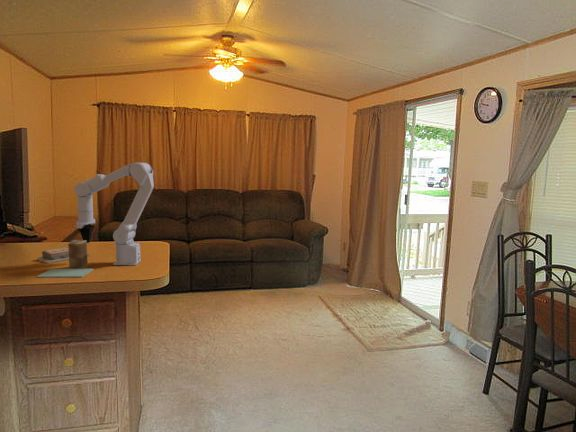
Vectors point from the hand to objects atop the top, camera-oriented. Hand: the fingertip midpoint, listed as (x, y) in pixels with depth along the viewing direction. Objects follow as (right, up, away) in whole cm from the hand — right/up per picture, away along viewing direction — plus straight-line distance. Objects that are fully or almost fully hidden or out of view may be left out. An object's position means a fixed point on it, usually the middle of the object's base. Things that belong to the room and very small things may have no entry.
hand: (86, 242), depth 173 cm
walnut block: (+1, -10, -8) cm, 13 cm away
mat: (0, -11, -16) cm, 20 cm away
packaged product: (-15, -8, +9) cm, 19 cm away
